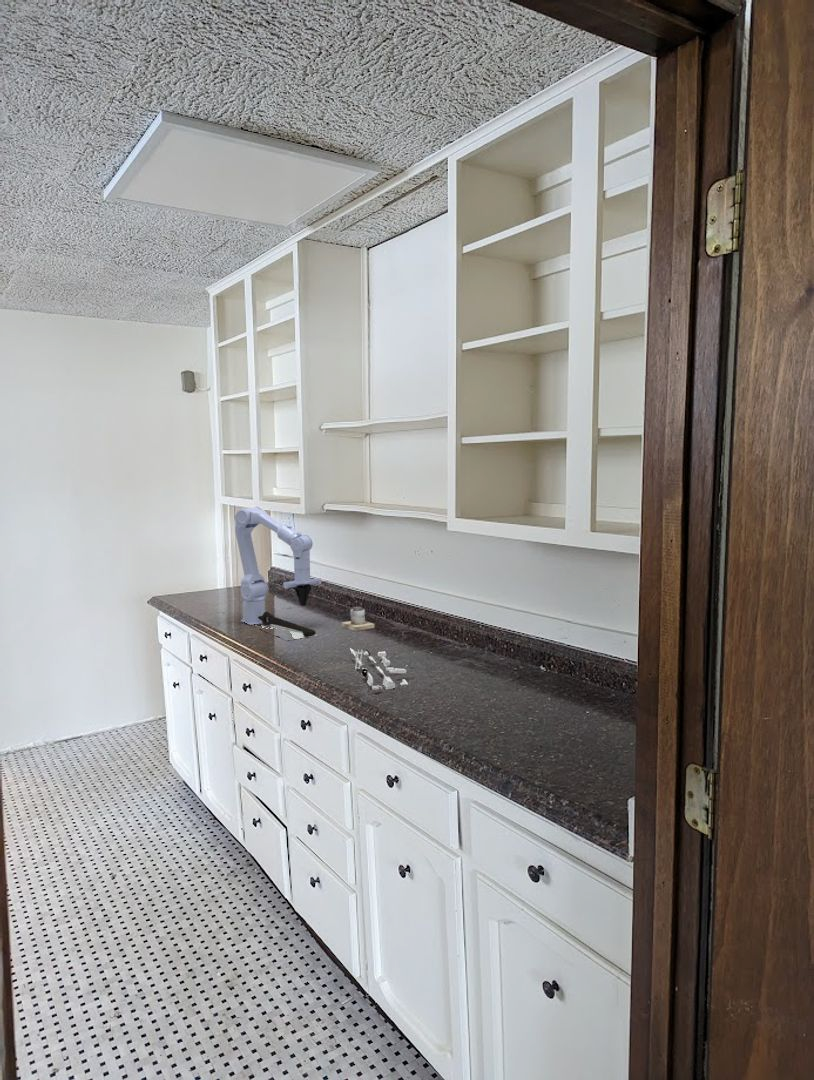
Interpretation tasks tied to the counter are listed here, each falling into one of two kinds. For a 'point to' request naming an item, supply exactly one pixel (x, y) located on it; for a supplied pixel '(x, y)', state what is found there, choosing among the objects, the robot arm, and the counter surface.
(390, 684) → the miniature set
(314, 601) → the counter surface
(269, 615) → the dark brown hooked rod
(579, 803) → the counter surface
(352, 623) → the cup on beige base
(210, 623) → the counter surface
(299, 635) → the tool mat
